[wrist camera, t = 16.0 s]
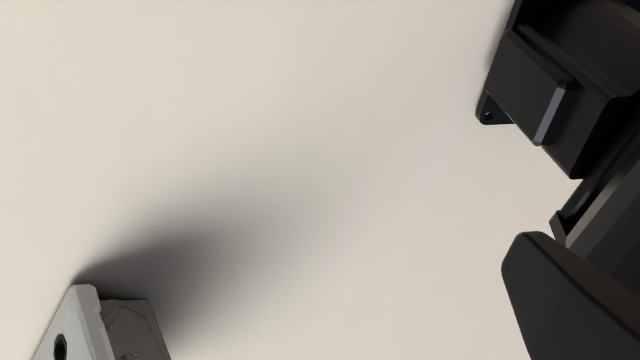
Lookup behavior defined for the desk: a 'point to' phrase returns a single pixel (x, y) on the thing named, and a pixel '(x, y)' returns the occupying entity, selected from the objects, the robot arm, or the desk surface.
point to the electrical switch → (101, 329)
